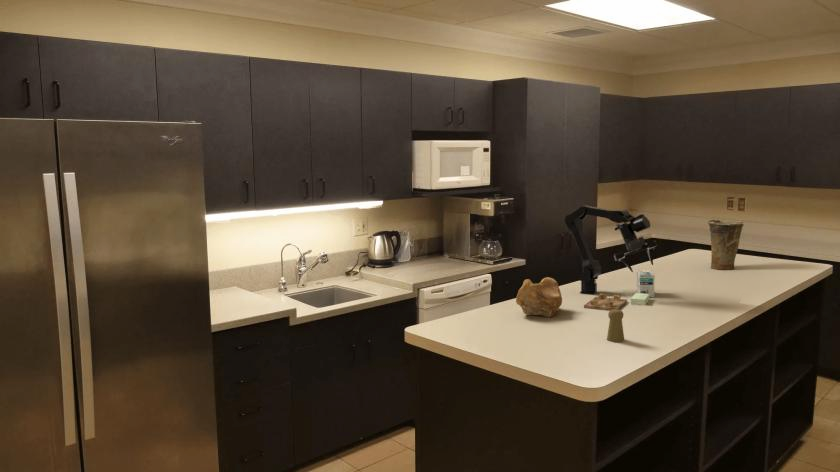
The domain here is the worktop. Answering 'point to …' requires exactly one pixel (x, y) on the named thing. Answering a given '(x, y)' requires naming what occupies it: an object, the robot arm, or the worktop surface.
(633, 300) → the pale green board
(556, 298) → the rough brown rock
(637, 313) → the worktop surface
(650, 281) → the light bulb box
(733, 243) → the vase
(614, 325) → the olive tapered pillar
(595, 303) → the walnut plate
